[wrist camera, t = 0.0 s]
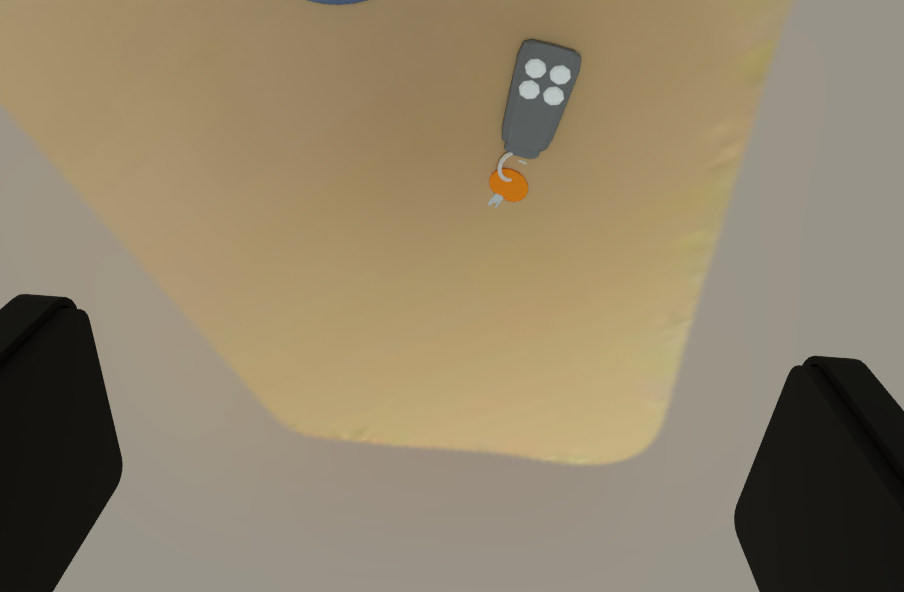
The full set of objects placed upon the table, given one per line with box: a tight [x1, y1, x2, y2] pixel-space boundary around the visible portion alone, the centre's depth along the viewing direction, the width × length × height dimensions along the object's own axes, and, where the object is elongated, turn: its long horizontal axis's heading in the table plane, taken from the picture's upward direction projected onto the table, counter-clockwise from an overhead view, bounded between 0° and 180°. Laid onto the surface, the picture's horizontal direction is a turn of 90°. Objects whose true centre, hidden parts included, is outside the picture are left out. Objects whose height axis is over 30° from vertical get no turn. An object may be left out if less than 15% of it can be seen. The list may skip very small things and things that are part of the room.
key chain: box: [488, 39, 581, 207], centre depth 40 cm, size 13×4×2 cm, turn 166°
